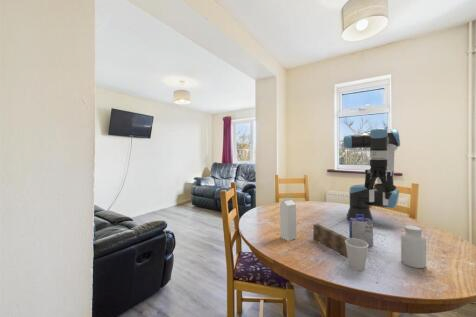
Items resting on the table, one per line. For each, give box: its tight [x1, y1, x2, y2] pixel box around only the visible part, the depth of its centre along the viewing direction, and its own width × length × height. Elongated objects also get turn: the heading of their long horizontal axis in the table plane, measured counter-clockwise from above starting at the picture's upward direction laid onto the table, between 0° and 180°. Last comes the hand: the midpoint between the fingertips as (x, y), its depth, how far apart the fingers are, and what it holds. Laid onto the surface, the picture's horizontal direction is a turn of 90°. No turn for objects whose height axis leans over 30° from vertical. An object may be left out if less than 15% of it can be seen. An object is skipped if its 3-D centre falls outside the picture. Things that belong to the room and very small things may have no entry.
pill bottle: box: [400, 225, 427, 269], centre depth 88 cm, size 8×8×15 cm
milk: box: [279, 197, 297, 242], centre depth 115 cm, size 6×6×22 cm
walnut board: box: [312, 223, 349, 259], centre depth 104 cm, size 22×2×8 cm, turn 19°
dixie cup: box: [345, 238, 369, 272], centre depth 86 cm, size 8×8×10 cm
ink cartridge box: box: [348, 214, 374, 247], centre depth 107 cm, size 10×6×14 cm, turn 78°
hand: (378, 203), depth 111 cm, fingers open, 7 cm apart
